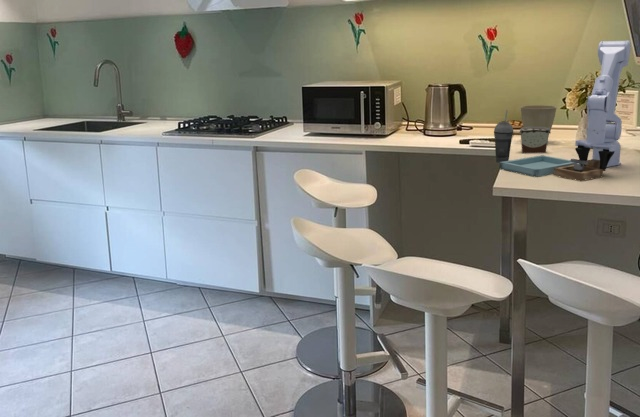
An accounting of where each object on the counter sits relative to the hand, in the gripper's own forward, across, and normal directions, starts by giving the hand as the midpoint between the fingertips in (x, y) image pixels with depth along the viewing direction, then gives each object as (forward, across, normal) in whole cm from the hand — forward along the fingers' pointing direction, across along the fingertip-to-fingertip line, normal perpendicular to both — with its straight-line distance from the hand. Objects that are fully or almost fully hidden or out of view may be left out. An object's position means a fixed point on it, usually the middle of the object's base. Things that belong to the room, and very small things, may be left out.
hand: (592, 169), depth 219 cm
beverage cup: (+2, -33, -10) cm, 34 cm away
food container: (+2, -41, +16) cm, 44 cm away
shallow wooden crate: (+1, 0, -6) cm, 6 cm away
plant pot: (+2, -55, +34) cm, 64 cm away
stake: (+1, 0, -8) cm, 8 cm away
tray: (+1, -16, -8) cm, 18 cm away
